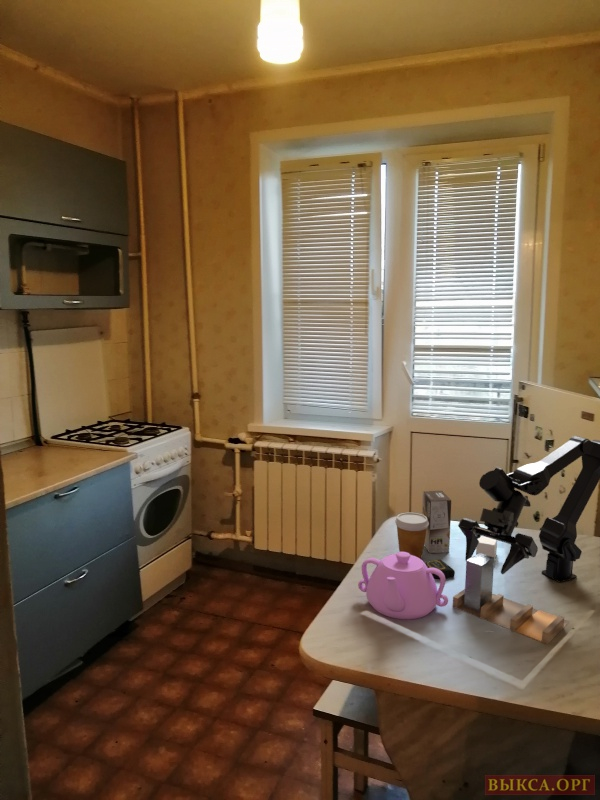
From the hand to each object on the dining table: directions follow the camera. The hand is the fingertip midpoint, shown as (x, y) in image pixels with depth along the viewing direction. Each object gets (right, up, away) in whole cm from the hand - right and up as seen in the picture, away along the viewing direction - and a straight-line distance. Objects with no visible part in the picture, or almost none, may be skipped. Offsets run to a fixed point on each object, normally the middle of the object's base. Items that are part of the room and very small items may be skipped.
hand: (483, 567), depth 147 cm
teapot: (-20, -11, -1) cm, 23 cm away
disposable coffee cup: (-12, -5, +29) cm, 32 cm away
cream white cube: (+10, -5, +30) cm, 32 cm away
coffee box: (-4, -4, +36) cm, 37 cm away
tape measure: (-7, -8, +17) cm, 20 cm away
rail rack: (+5, -11, -4) cm, 12 cm away
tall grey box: (-1, -9, 0) cm, 9 cm away
